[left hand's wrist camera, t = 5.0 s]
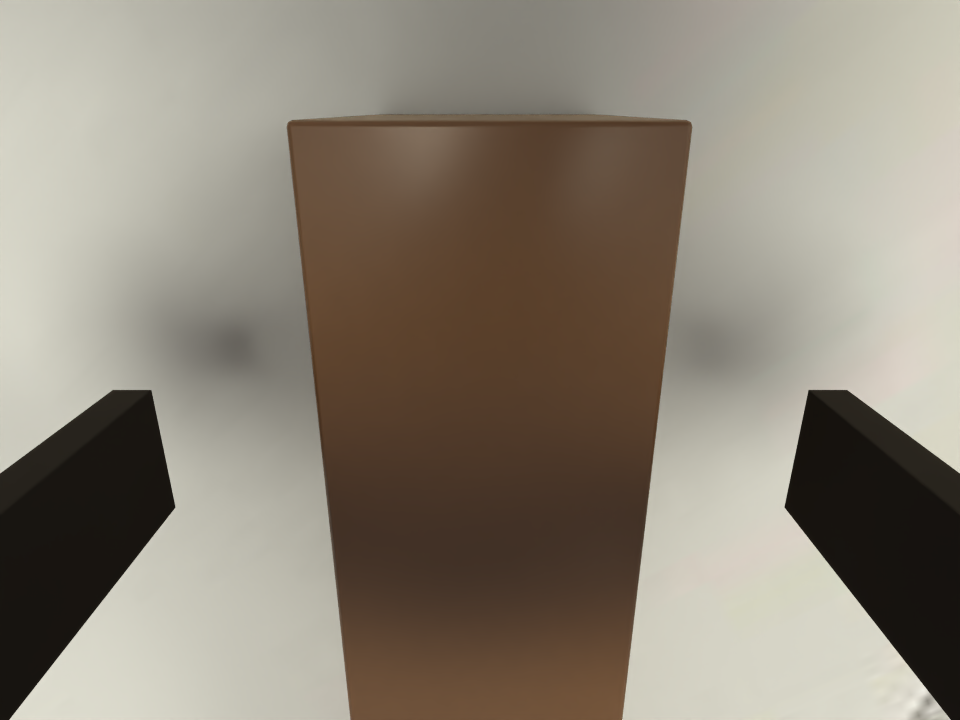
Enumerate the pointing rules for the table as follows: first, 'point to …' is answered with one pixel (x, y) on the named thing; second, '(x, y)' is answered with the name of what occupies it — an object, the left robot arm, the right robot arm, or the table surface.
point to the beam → (488, 397)
